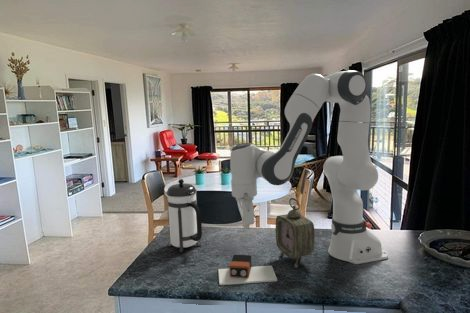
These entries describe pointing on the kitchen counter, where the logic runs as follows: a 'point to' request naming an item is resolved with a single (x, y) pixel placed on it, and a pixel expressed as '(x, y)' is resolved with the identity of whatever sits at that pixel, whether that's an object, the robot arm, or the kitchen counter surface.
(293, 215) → the tabletop clock
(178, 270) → the kitchen counter surface
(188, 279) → the kitchen counter surface
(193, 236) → the coffee press
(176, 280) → the kitchen counter surface
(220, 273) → the mat
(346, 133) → the robot arm
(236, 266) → the battery
